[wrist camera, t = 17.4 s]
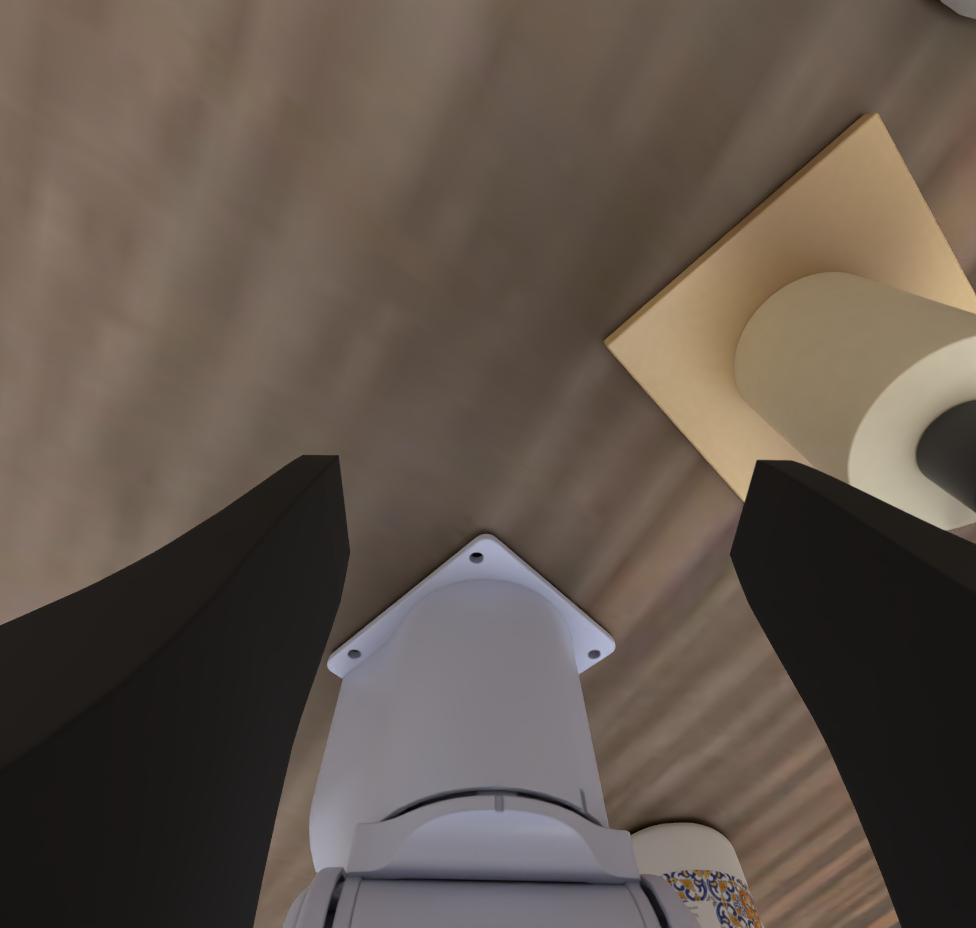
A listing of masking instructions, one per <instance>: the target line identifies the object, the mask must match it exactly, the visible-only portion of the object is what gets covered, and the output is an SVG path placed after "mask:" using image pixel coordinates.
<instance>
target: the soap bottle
mask: <svg viewBox="0 0 976 928" xmlns="http://www.w3.org/2000/svg"><path fill="white" fill-rule="evenodd" d="M734 375H735V381H736V385H737V388H738V390H739V392H740V394H741V396H742V397H743V399H744V401H745V402H746V403H747V404H748V405H749V406H750V407H751V408H752V409H753V410H754V411H755V412H756V413H757V414H758V415H759V416H760V417H761V418H763V419H764V420H765V421H766V422H767V423H768V424H769V425H770V426H771V427H772V428H773V429H774V430H775V431H777V432H778V433H779V434H780V435H781V436H782V437H783V438H784V439H785V440H786V441H787V442H788V443H789V444H791V445H792V446H793V447H794V448H795V449H796V450H797V451H798V452H799V453H800V454H801V455H802V456H804V457H805V458H806V459H807V460H808V461H809V462H810V463H811V464H812V465H813V466H814V467H815V468H816V469H818V470H819V471H821V472H823V473H826V474H828V475H830V476H832V477H834V478H837V479H839V480H841V481H843V482H845V483H847V484H849V485H851V486H853V487H855V488H857V489H860V490H862V491H864V492H866V493H868V494H870V495H872V496H874V497H876V498H878V499H880V500H882V501H884V502H886V503H888V504H890V505H892V506H894V507H897V508H899V509H901V510H903V511H905V512H907V513H909V514H911V515H913V516H915V517H917V518H919V519H922V520H924V521H926V522H928V523H930V524H932V525H934V526H937V527H939V528H941V529H943V530H950V529H954V528H958V527H962V526H965V525H968V524H971V523H974V522H976V314H974V313H971V312H968V311H965V310H962V309H959V308H956V307H952V306H949V305H946V304H943V303H940V302H937V301H934V300H931V299H928V298H925V297H922V296H919V295H915V294H912V293H909V292H906V291H903V290H900V289H897V288H894V287H891V286H888V285H885V284H882V283H879V282H875V281H872V280H869V279H866V278H863V277H860V276H857V275H853V274H849V273H844V272H823V273H818V274H813V275H810V276H806V277H803V278H801V279H798V280H796V281H794V282H792V283H790V284H788V285H786V286H785V287H783V288H781V289H780V290H778V291H777V292H776V293H774V294H773V295H772V296H770V297H769V298H768V299H767V300H766V301H765V302H764V303H763V304H762V305H761V306H760V307H759V308H758V309H757V310H756V311H755V313H754V314H753V315H752V317H751V318H750V319H749V321H748V323H747V324H746V326H745V328H744V330H743V332H742V334H741V336H740V338H739V341H738V344H737V348H736V352H735V358H734Z"/></svg>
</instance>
